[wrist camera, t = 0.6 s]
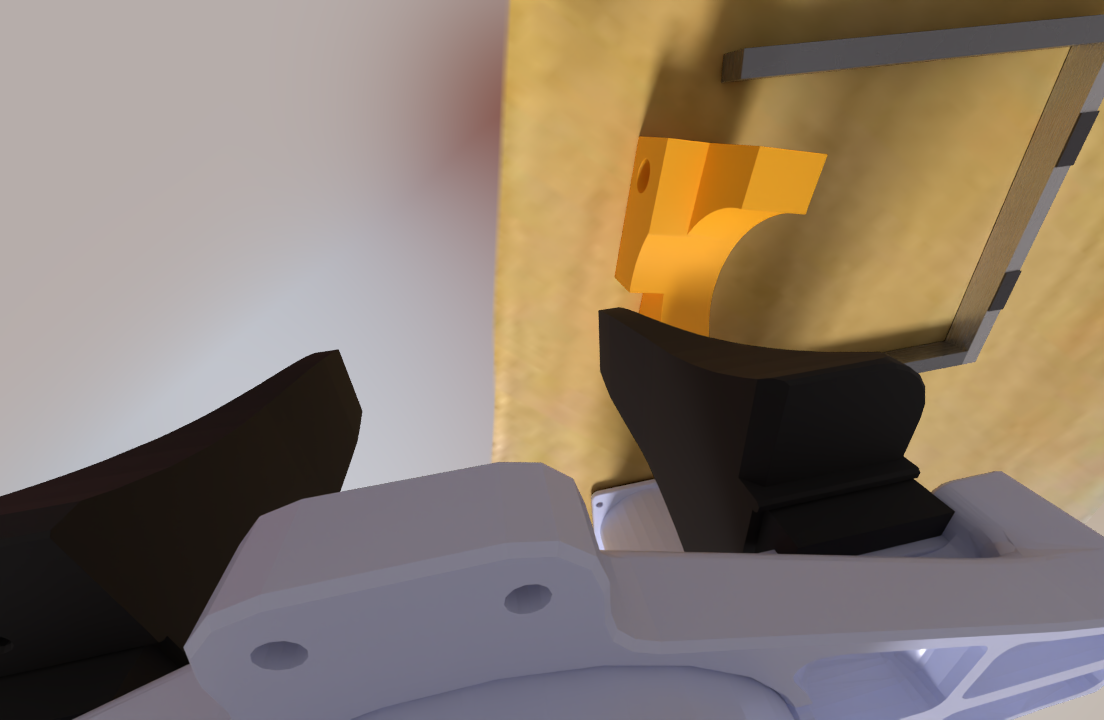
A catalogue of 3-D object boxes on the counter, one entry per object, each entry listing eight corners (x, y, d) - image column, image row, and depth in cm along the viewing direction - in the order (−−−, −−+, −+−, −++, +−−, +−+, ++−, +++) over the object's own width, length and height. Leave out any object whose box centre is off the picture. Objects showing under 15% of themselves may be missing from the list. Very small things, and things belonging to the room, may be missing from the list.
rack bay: (952, 351, 29) (976, 362, 27) (691, 400, 27) (704, 416, 25) (1100, 18, 20) (1148, 10, 18) (723, 54, 18) (745, 47, 16)
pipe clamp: (637, 136, 19) (711, 140, 13) (724, 146, 20) (828, 154, 14) (597, 368, 24) (637, 440, 19) (666, 368, 25) (723, 436, 20)
